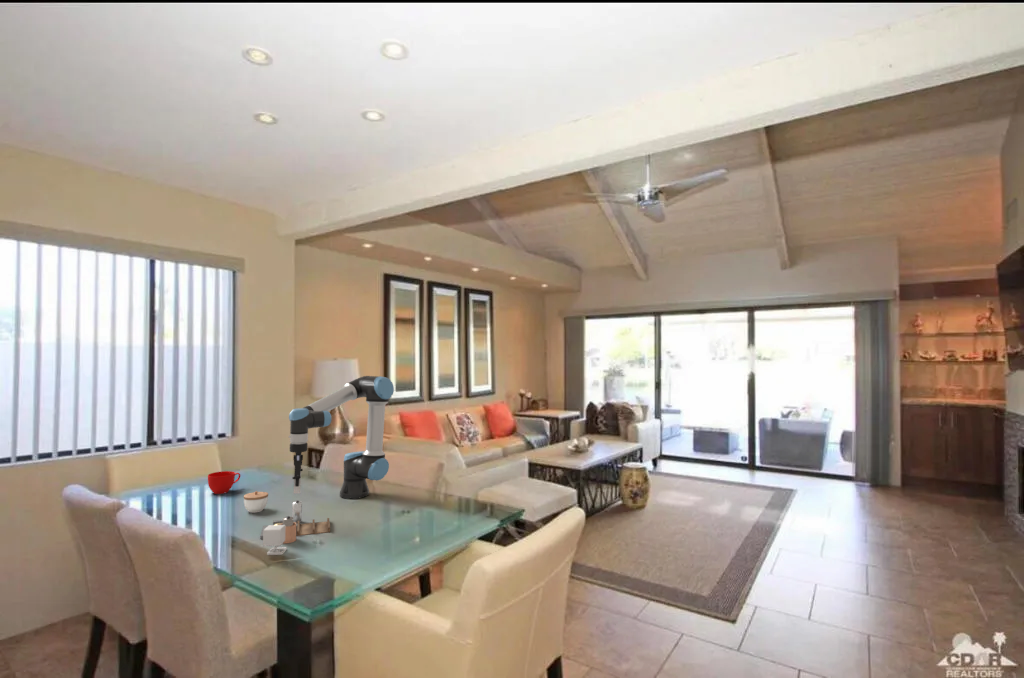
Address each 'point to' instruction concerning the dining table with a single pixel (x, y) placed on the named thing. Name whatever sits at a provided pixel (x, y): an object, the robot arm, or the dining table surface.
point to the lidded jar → (255, 501)
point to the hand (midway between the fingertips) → (297, 489)
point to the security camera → (274, 539)
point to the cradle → (268, 525)
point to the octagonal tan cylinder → (290, 533)
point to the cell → (297, 511)
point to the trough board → (313, 528)
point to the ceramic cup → (221, 481)
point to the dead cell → (288, 521)
